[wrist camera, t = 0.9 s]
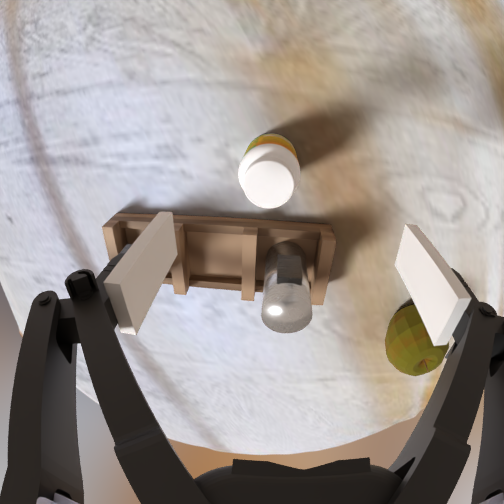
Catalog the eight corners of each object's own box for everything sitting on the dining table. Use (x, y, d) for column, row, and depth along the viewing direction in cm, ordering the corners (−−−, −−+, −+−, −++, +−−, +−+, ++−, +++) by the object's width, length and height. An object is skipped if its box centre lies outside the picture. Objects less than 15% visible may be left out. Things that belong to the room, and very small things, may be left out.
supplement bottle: (253, 126, 29) (243, 142, 21) (302, 141, 29) (313, 163, 21) (240, 173, 32) (226, 206, 24) (287, 186, 32) (290, 224, 24)
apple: (445, 301, 39) (472, 352, 29) (412, 342, 44) (429, 393, 34) (400, 286, 38) (425, 343, 29) (367, 332, 43) (380, 389, 34)
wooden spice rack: (116, 213, 36) (101, 226, 32) (330, 224, 34) (336, 241, 31) (128, 270, 40) (116, 286, 37) (319, 285, 39) (322, 305, 35)
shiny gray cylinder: (267, 235, 34) (263, 289, 26) (308, 238, 34) (317, 292, 26) (264, 273, 37) (260, 331, 29) (302, 275, 37) (308, 334, 28)
